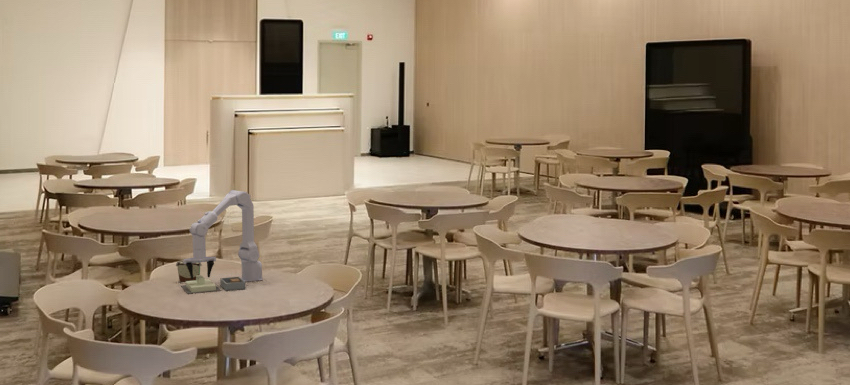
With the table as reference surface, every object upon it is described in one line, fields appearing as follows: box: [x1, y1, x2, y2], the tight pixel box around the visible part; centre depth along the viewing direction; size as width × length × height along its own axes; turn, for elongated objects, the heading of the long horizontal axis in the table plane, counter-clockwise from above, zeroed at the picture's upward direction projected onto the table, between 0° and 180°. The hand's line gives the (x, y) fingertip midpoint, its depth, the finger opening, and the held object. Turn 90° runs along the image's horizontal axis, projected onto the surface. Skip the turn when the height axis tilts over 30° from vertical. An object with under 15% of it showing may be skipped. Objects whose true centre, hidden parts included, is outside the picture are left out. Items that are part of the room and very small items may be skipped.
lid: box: [185, 274, 217, 292], centre depth 430 cm, size 11×15×5 cm
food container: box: [175, 259, 203, 283], centre depth 446 cm, size 12×6×10 cm, turn 84°
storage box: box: [219, 276, 246, 292], centre depth 432 cm, size 9×13×4 cm
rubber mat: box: [180, 284, 222, 295], centre depth 430 cm, size 15×18×1 cm
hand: (200, 277), depth 430 cm, fingers open, 7 cm apart
